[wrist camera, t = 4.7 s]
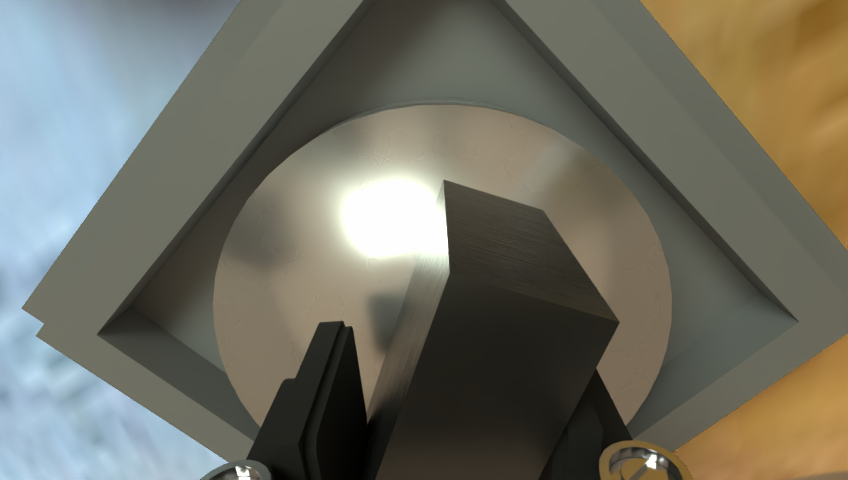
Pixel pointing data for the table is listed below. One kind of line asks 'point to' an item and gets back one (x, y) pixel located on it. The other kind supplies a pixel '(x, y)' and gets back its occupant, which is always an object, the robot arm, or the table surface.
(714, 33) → the table surface
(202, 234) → the dial housing
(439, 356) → the dial
